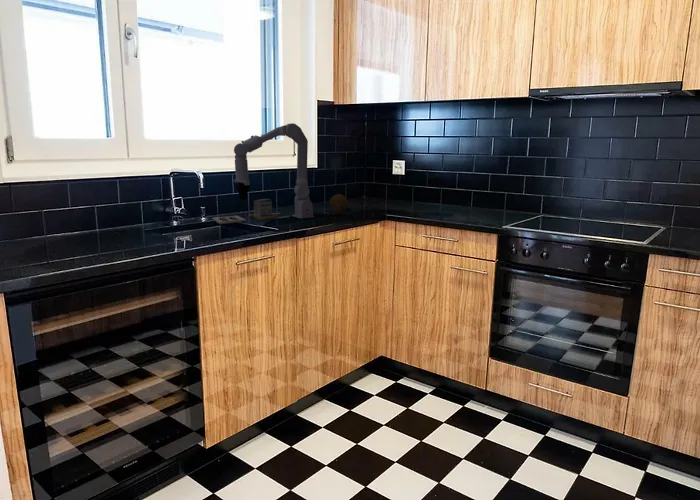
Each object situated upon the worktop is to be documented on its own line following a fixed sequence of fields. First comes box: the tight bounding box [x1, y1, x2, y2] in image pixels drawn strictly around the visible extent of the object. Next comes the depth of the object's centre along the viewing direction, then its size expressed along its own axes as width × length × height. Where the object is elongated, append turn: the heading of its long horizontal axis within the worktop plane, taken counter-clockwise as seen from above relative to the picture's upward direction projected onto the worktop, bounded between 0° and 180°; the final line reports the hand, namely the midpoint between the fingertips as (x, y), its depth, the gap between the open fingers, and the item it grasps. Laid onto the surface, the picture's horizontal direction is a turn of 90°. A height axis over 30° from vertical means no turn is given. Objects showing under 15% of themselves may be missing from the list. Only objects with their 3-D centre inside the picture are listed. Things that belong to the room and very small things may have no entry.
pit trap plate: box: [211, 215, 247, 225], centre depth 231 cm, size 13×12×1 cm
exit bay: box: [272, 212, 291, 219], centre depth 244 cm, size 13×6×1 cm, turn 31°
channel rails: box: [248, 213, 279, 221], centre depth 239 cm, size 13×10×1 cm
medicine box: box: [253, 198, 273, 219], centre depth 239 cm, size 8×4×9 cm, turn 143°
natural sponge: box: [329, 193, 350, 215], centre depth 247 cm, size 9×9×10 cm
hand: (243, 199), depth 233 cm, fingers closed
